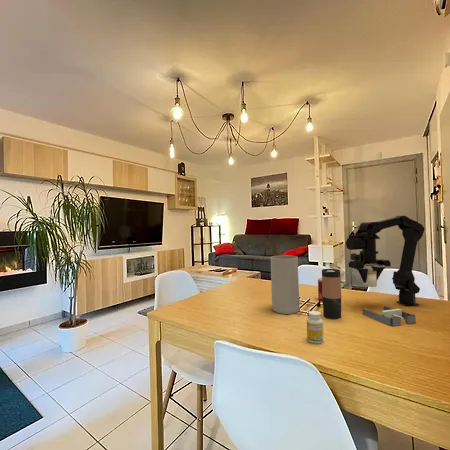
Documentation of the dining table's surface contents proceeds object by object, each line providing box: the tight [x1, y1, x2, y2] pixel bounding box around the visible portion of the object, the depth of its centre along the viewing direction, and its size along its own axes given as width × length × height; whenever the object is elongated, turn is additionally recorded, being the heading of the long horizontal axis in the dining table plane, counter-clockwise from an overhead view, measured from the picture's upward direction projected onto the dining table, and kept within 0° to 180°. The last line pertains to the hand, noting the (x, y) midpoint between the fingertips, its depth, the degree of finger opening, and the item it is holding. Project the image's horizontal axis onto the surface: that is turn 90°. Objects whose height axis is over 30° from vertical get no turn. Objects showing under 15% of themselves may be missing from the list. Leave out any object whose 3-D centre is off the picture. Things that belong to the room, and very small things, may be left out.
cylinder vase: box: [270, 255, 300, 315], centre depth 122 cm, size 12×12×25 cm
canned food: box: [317, 277, 323, 303], centre depth 135 cm, size 8×8×11 cm
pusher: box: [381, 308, 405, 321], centre depth 104 cm, size 9×6×4 cm, turn 104°
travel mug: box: [321, 268, 342, 320], centre depth 112 cm, size 8×8×20 cm
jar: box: [362, 269, 378, 288], centre depth 121 cm, size 6×6×7 cm
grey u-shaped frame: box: [362, 305, 417, 327], centre depth 108 cm, size 12×15×3 cm
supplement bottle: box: [306, 310, 324, 344], centre depth 90 cm, size 5×5×10 cm
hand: (370, 282), depth 121 cm, fingers closed on jar, 5 cm apart
